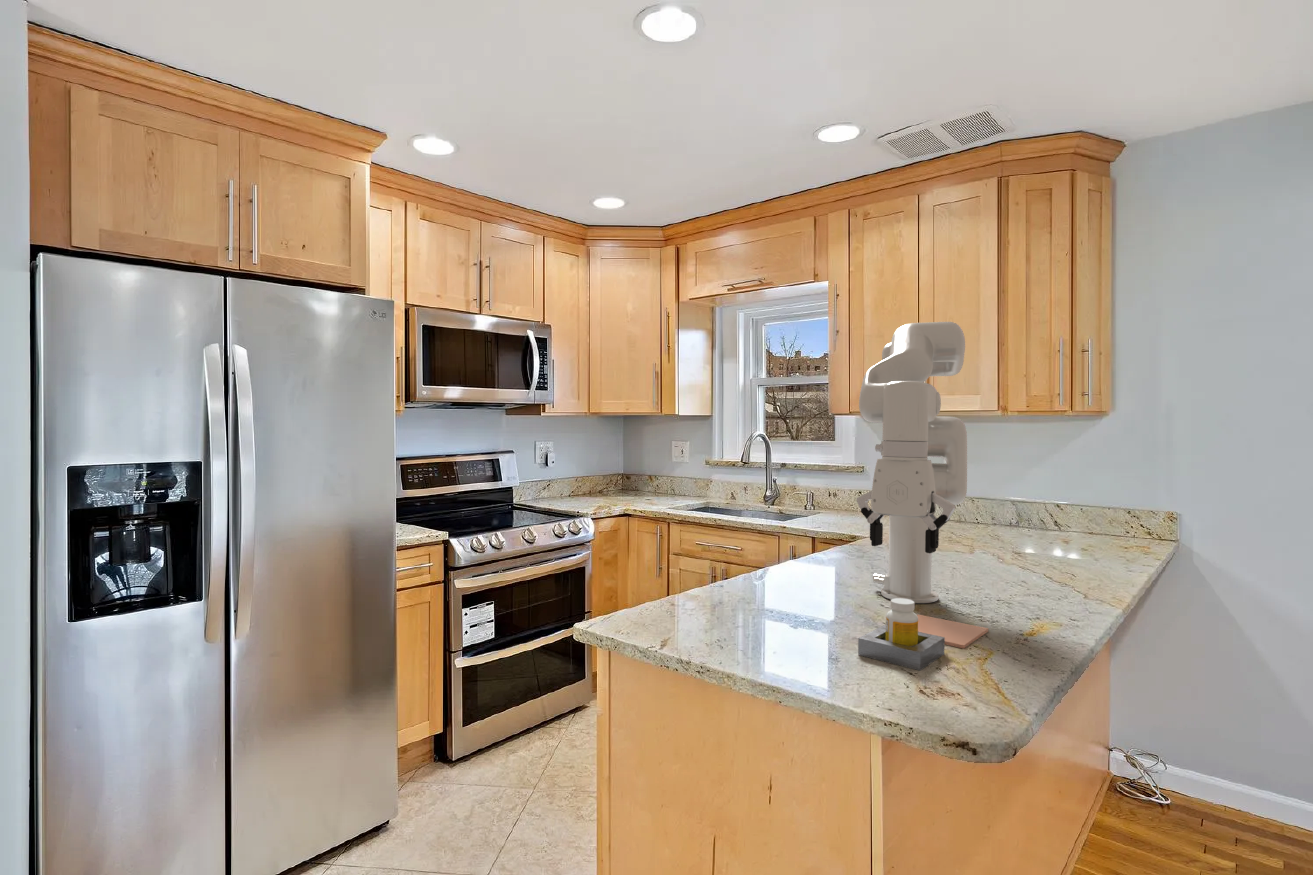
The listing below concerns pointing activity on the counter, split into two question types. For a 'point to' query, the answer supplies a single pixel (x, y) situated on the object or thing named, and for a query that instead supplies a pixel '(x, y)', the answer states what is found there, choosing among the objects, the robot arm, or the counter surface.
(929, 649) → the collar
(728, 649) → the counter surface
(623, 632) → the counter surface
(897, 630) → the supplement bottle
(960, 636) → the tile
